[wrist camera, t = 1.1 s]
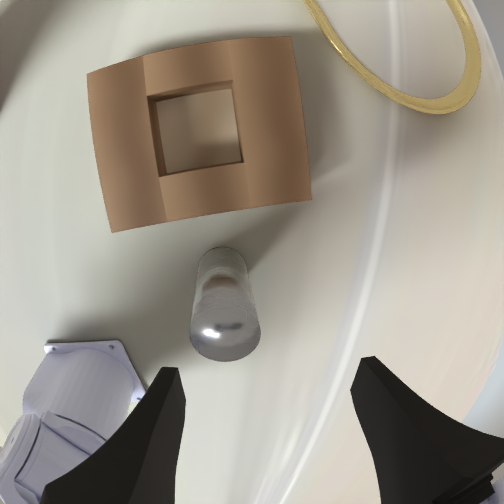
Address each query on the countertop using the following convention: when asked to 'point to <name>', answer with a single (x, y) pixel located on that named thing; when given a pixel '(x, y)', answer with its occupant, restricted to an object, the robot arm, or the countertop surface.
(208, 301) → the pin
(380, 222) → the countertop surface
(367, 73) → the yellow rubber band
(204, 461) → the countertop surface
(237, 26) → the countertop surface
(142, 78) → the socket block
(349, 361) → the countertop surface
